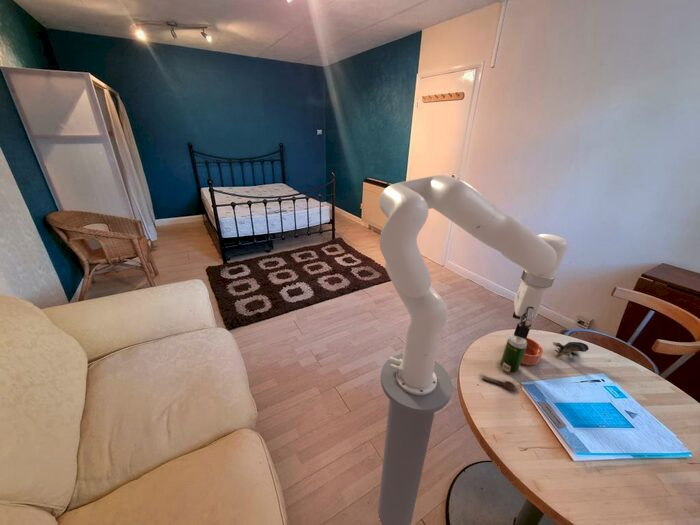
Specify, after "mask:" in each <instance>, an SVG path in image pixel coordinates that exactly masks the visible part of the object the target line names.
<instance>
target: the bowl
mask: <svg viewBox="0 0 700 525" xmlns="http://www.w3.org/2000/svg"><path fill="white" fill-rule="evenodd" d="M524 339H525V338H524ZM525 340H526V341H527V348H526V350H525V353H524V356H523V359H522V361H521V364H522V365H526V366H536V365H538V364H539V363H540V361H541V359H542V357H543V354H544V350H543V347H542V346H541V345H540V343H538V342H537V341H535V340H534V339H533V338H529V337H527V338H526V339H525Z"/></svg>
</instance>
